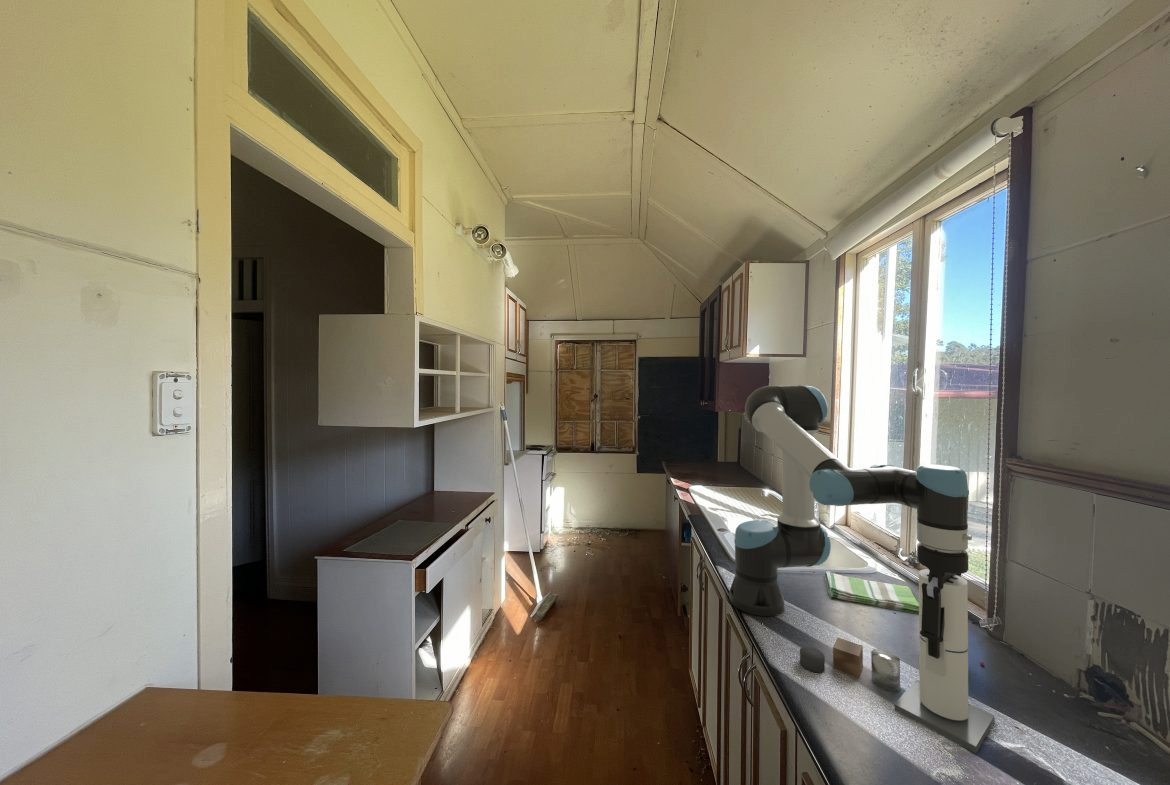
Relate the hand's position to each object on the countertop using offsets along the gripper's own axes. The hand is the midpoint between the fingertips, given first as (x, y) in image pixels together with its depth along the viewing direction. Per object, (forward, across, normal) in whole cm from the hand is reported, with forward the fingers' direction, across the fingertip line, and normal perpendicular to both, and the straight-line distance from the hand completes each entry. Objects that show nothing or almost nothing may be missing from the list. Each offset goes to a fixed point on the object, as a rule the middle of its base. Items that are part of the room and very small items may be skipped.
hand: (942, 664), depth 80 cm
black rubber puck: (+10, -6, +22) cm, 25 cm away
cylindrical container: (+8, 0, 0) cm, 8 cm away
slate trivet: (+10, 0, 0) cm, 10 cm away
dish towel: (+11, +42, +29) cm, 53 cm away
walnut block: (+10, 0, +17) cm, 20 cm away
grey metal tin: (+10, +1, +10) cm, 14 cm away
